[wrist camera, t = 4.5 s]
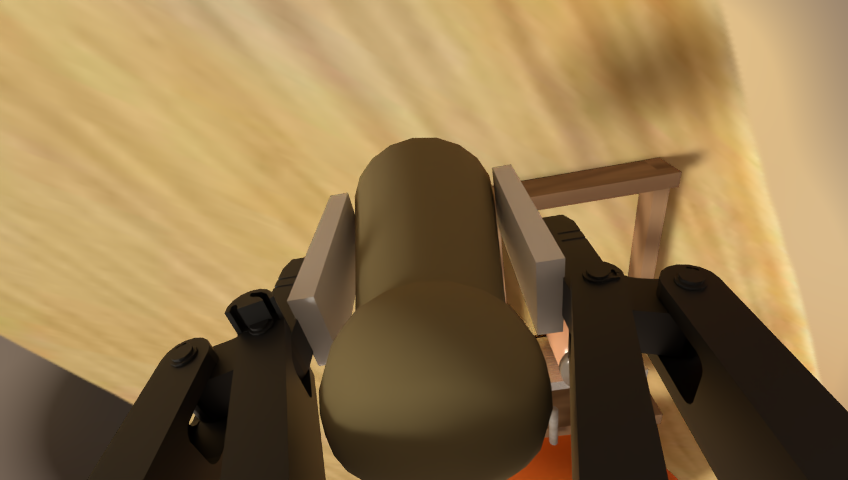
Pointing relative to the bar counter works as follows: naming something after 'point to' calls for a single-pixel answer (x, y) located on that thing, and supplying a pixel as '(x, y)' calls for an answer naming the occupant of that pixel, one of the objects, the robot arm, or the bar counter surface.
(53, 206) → the bar counter surface
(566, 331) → the terracotta spice jar
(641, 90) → the bar counter surface
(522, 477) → the bowl
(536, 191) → the lane
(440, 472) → the pepper mill
